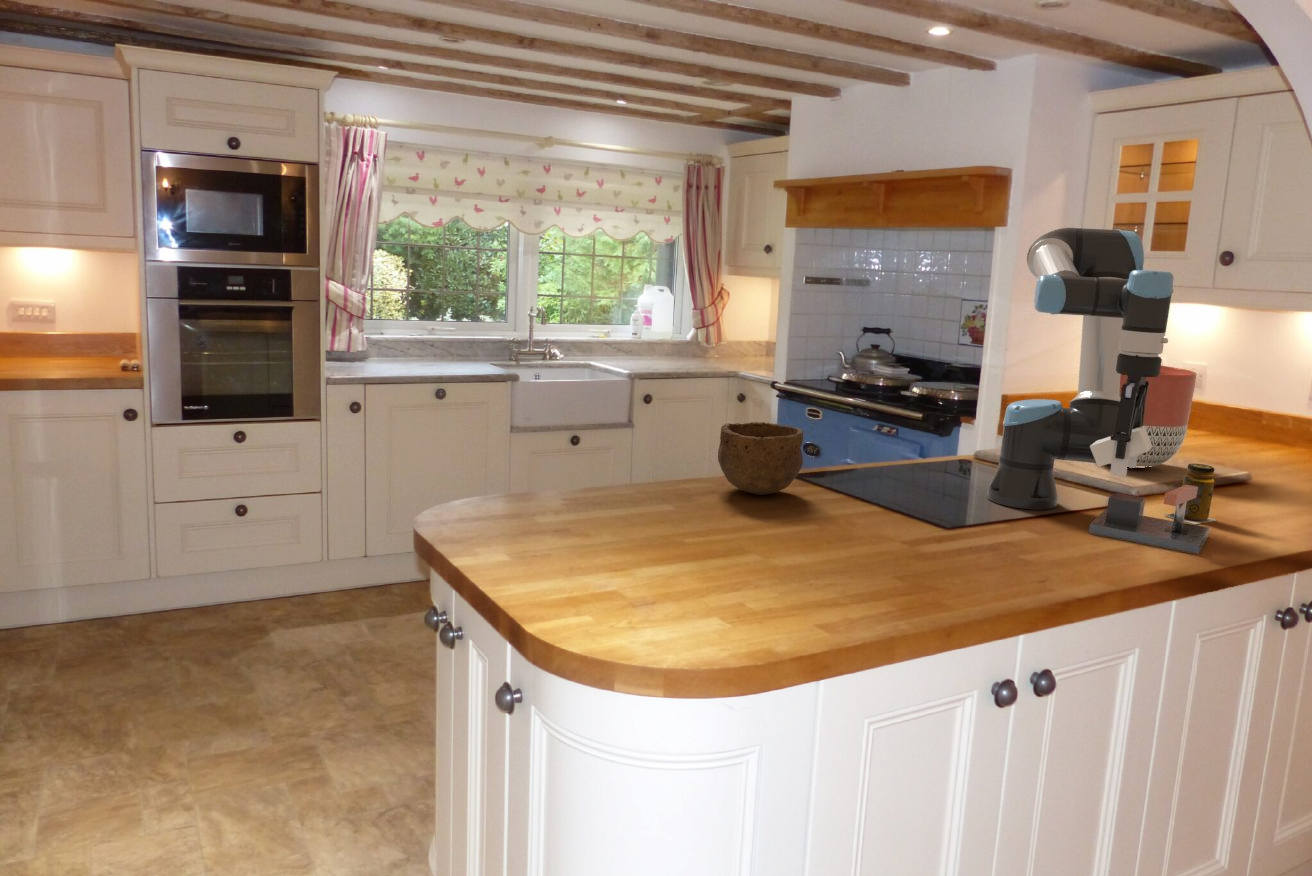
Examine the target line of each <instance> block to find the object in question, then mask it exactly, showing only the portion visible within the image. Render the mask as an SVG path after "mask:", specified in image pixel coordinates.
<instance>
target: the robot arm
mask: <svg viewBox="0 0 1312 876" xmlns="http://www.w3.org/2000/svg"><path fill="white" fill-rule="evenodd" d="M1026 255H1027V256H1026V262H1027V267H1028V269H1029V271H1030V273H1031V274H1032V275H1033V276H1034V277H1035V278H1036V279H1037V282H1036V285H1035V291H1034V300H1033V301H1034V309H1035V310H1036V311H1037V312H1038V313H1045V314H1050V315H1066V316H1067V315H1069V316H1071V315H1072V316H1082V326H1081V327H1082V329H1081V342H1080V343H1081V344H1080V354H1079V355H1080V357H1079V368H1078V369H1079V370H1078V373H1079V374H1078V384H1077V385H1078V386H1077V395H1076V396H1075V397H1073V398H1072V399H1071V400H1070V401H1069V407H1068V408H1067V407H1063V405H1062V402H1061V401H1059V400H1056V399H1055V400H1054V399H1044V398H1042V399H1039V398H1037V399H1025V400H1024V399H1022V400H1018V401H1013V402H1011V403H1010V404H1008V405H1007V407H1006V409H1005V413H1004V419H1003V421H1002V425H1003V428H1002V435H1001V445H1000V452H999V459H998V461H999V462H998V466H997V468H996V470H995V472H994V474H993V477H992V478H991V480H990V483H989V485H988V487H987V493H986V498H987V499H988V500H989V501H991V502H994V503H995V504H999V505H1002V506H1006V507H1009V508H1010V507H1011V508H1017V509H1023V510H1034V511H1036V510H1038V511H1039V510H1040V511H1041V510H1051V509H1055V508H1057V506H1058V499H1059V496H1058V495H1059V494H1058V489H1057V486H1056V480H1055V476H1054V466H1055V460H1060V461H1069V462H1081V463H1092V464H1097V463H1096V461H1095V458H1094V456H1093V453H1092V451H1091V448H1090V446H1091V445H1092V444H1093V443H1094V442H1096V441H1098V440H1101V439H1104V438H1107V437H1110V436H1111V440H1115V442H1114V449H1113V456H1112V463H1110V464H1109V465H1110V472H1109V475H1111V476H1116V477H1117V476H1118V477H1123V478H1126V477H1127V474H1128V469H1132V468H1136V463H1137V456H1138V455H1135V456H1132V457H1129V454H1130V447H1131V442H1130V440H1131V433H1132V429H1135V428H1138V427H1141V426H1143V424H1144V415H1145V405H1146V396H1147V392H1148V385H1149V383H1148V381H1146V377H1157V376H1159V374H1160V369H1161V366H1162V362H1163V359H1162V357H1161V356H1159V355H1162V354H1163V352H1164V344H1167V343H1169V339H1168V338H1167V337H1165V336H1166V332H1167V327H1168V326H1167V325H1168V320H1169V314H1170V307H1171V301H1172V295H1173V293H1174V287H1173V286H1174V274H1173V273H1171V272H1170V271H1163V270H1145V269H1144V263H1145V259H1144V258H1145V253H1144V245H1143V241H1142V238H1141V237H1140V235H1139V234H1138V233H1137V232H1135V231H1132V230H1121V229H1119V228H1115V229H1107V228H1106V229H1105V228H1103V229H1102V228H1083V227H1082V228H1080V227H1079V228H1077V227H1063V228H1061V227H1060V228H1058V229H1053V230H1051V231H1049V232H1047V233H1044V234H1043V235H1040V237H1038V238H1037V239H1036V240H1034V242H1033V243H1032V244H1031V245H1030V246H1029V249H1028V251H1027V254H1026ZM1121 374H1123V375H1127V376H1128V378H1127V382H1126V383H1125V384H1123V386H1122V388H1121V390H1122V391H1121V398H1120V396H1119V395H1120V378H1121ZM1127 467H1129V468H1127Z"/></svg>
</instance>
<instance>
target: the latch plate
mask: <svg viewBox="0 0 1312 876" xmlns="http://www.w3.org/2000/svg"><path fill="white" fill-rule="evenodd" d="M1145 504H1146V497H1143V496H1142V497H1141V496H1137V495H1130V494H1125V493H1121V492H1120V493H1119V492H1113V493H1112V494H1111V495H1110V496H1109V497H1108V500H1107V508H1105V510H1103V511H1102V512H1101V513H1100V514H1099V515H1098V516H1097V517H1096V518H1095V519H1093V521H1092V522H1091V523H1089V530H1088V534H1090V535H1094V536H1100V537H1104V538H1110V539H1114V540H1115V539H1116V540H1121V541H1127V542H1131V543H1135V542H1136V543H1137V544H1140V545H1145V544H1146V545H1147V546H1151V547H1157V548H1163V549H1165V550H1166V549H1167V550H1170V551H1176V550H1178V551H1177V552H1182V551H1184V552H1183V553H1188V554H1192V553H1193V555H1197V556H1198V555H1199V554H1200V551H1202V548H1203V546H1204V544H1205V542H1206V540H1207V539H1208V537H1209V532H1210V527H1207V526H1201V525H1198V524H1192V523H1188V522H1183V528H1182V531H1175V530H1172V527H1173V520H1169V519H1163V518H1158V517H1151V516H1146V515H1144V509H1145Z"/></svg>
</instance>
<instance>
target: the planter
mask: <svg viewBox="0 0 1312 876" xmlns="http://www.w3.org/2000/svg"><path fill="white" fill-rule="evenodd" d="M1197 375H1198V374H1197V373H1196V372H1195V371H1193V370H1188V369H1186V368H1180V367H1174V366H1165V365H1161V369H1160V374H1159V376H1157V377H1146V381H1148V383H1149V385H1148V392H1147V396H1146V405H1145V415H1144V424H1143V426H1144V427H1145V429H1146V432H1147V434H1148V437H1149V439H1150V442H1151V444H1152V447H1151V448H1150V449H1149V451H1148V452H1145V453H1142V454H1138V456H1137V463H1136V466H1145V467H1146V466H1147V467H1149V466H1155V467H1157V465H1158V466H1160V465H1162V464H1164V463H1166V462H1167V461H1169V460H1170V459H1171V458H1173V457H1174V456H1175V455H1176V454H1177V453H1178V452H1179V450H1180V449H1181V447H1182V445H1183V443H1184V442H1185V441H1184V440H1185V439H1186V434H1187V431H1188V426H1189V422H1190V421H1189V419H1190V415H1191V409H1192V404H1193V397H1194V392H1195V387H1196V381H1197V380H1196V379H1197ZM1127 378H1128V376H1127V375H1123V374H1121V378H1120V395H1119V396H1120V398H1121V391H1122V390H1121V388H1122V386H1123V384H1125V383H1126V382H1127Z"/></svg>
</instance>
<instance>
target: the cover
mask: <svg viewBox="0 0 1312 876" xmlns="http://www.w3.org/2000/svg"><path fill="white" fill-rule="evenodd" d="M1114 442H1115V440H1111V436H1110V437H1107V438H1104V439H1101V440H1098V441H1096V442H1094V443H1093V444H1092V445H1091V446H1090V448H1091V451H1092V453H1093V456H1094V458H1095V461H1096V463H1095V464H1096V465H1097V468H1100V467H1103V466H1106V465H1111V464H1110V463H1112V456H1113V449H1114ZM1130 442H1131V447H1130V454H1129V457H1132V456H1135V455H1138V454H1142V453H1145V452H1148V451H1149V449H1150V448H1151V447H1152V444H1151V442H1150V439H1149V437H1148V434H1147V432H1146V429H1145V427H1144V426H1141V427H1138V428H1135V429H1132V433H1131V440H1130Z"/></svg>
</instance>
